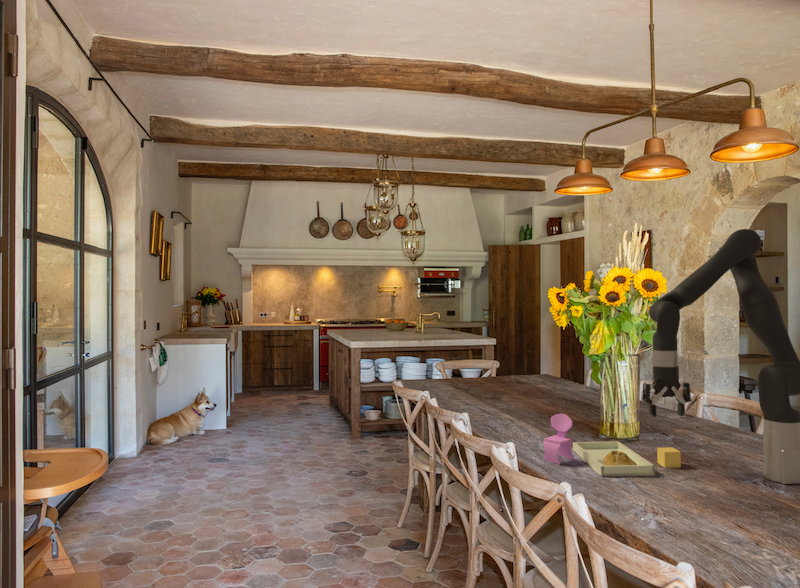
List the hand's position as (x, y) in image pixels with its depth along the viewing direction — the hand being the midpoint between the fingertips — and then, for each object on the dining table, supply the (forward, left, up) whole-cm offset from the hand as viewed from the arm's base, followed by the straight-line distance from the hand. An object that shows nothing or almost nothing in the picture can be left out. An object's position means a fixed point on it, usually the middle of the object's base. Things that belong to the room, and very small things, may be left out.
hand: (667, 416), depth 177 cm
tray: (+6, +16, -16) cm, 23 cm away
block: (+2, -1, -16) cm, 16 cm away
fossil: (-2, +16, -15) cm, 23 cm away
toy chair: (+9, +32, -16) cm, 37 cm away
